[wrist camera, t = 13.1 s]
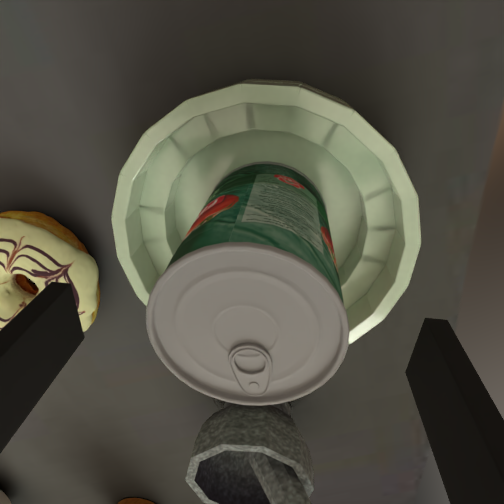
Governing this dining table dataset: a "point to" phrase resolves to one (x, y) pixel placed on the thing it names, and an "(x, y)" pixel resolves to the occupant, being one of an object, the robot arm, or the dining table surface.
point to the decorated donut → (43, 264)
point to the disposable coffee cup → (135, 501)
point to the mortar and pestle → (251, 457)
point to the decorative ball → (4, 498)
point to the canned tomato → (253, 292)
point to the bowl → (281, 151)
